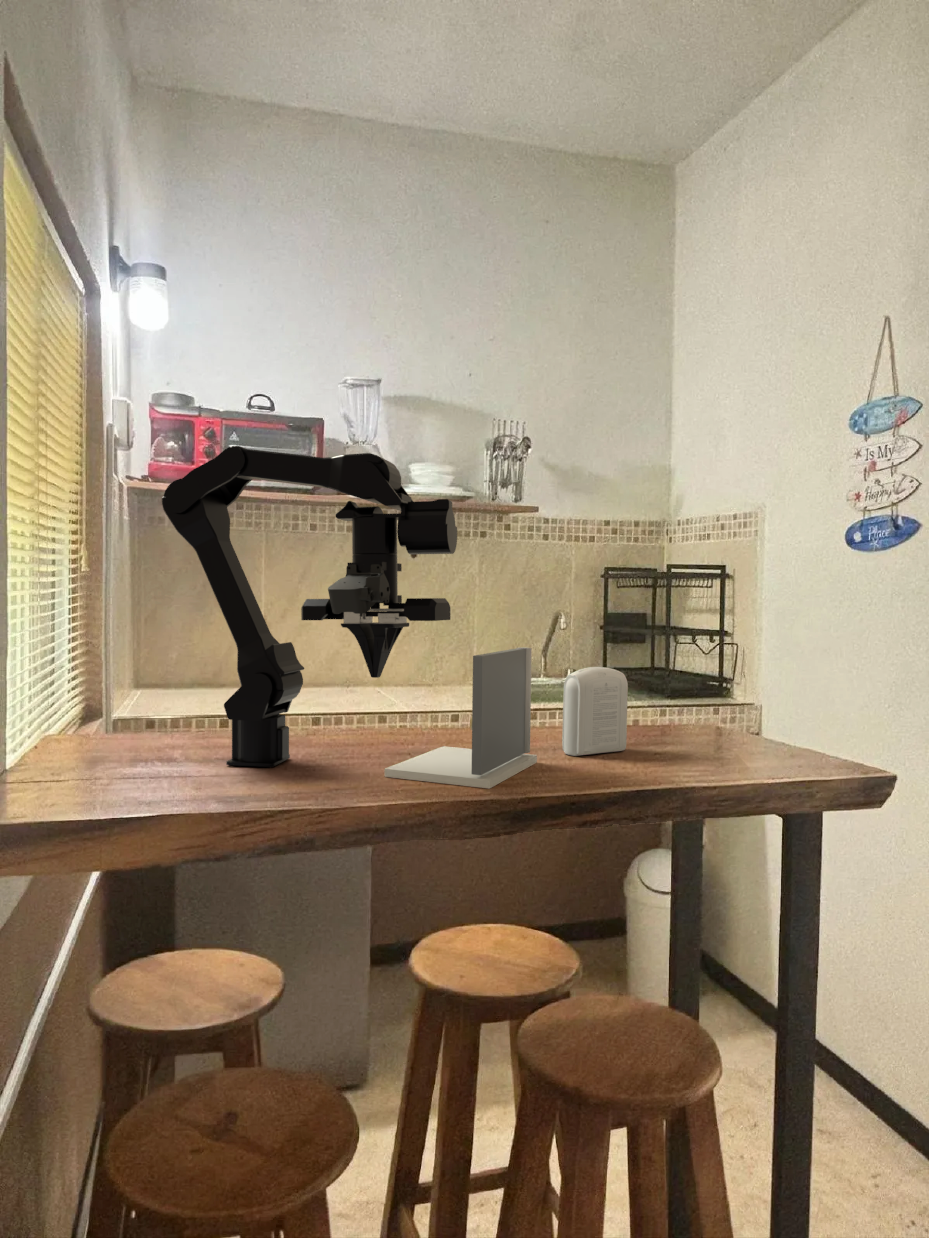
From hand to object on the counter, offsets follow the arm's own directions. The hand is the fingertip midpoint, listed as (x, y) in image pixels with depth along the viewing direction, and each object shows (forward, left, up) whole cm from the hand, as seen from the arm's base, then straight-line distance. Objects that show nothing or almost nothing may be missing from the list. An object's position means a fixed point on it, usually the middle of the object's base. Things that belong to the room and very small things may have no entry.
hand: (375, 677), depth 109 cm
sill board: (+11, +3, -12) cm, 16 cm away
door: (+16, +1, -10) cm, 19 cm away
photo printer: (+28, +18, -12) cm, 35 cm away
